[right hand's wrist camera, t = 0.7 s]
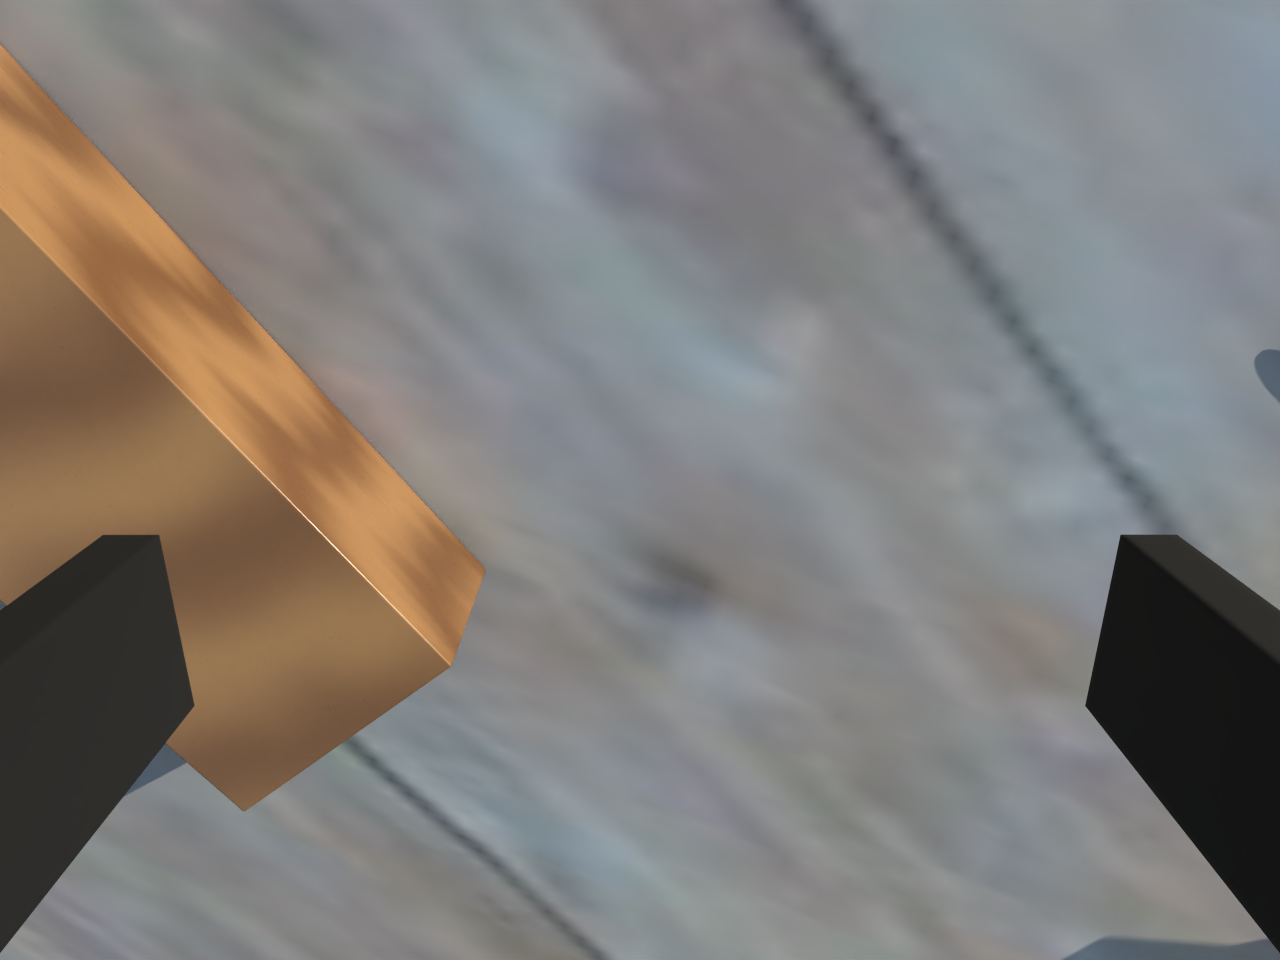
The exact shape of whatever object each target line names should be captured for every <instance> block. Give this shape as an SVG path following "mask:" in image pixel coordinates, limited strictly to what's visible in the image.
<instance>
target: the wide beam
mask: <svg viewBox="0 0 1280 960" xmlns="http://www.w3.org/2000/svg"><path fill="white" fill-rule="evenodd" d="M102 535H159V536H160V541H161V546H162V550H163V555H164V560H165V565H166V570H167V575H168V579H169V584H170V589H171V594H172V599H173V604H174V609H175V613H176V618H177V623H178V628H179V633H180V638H181V642H182V647H183V652H184V657H185V662H186V667H187V671H188V676H189V681H190V686H191V691H192V696H193V700H194V705H195V706H194V707H193V708H192V710H191V711H190V712H189V714H188V715H187V716H186V717H185V719H184V720H183V721H182V722H181V724H180V725H179V726H178V728H177V729H176V730H175V731H174V733H173V734H172V735H171V736H170V738H169V739H168V740H167V742H166V743H165V744H166V745H168V746H169V747H170V748H171V749H172V750H173V751H175V752H176V753H177V754H178V755H179V756H180V757H181V758H183V759H184V760H185V761H186V762H187V763H188V764H190V765H191V766H192V767H193V768H194V769H195V770H196V771H198V772H199V773H200V774H201V775H202V776H203V777H205V778H206V779H207V780H208V781H209V782H210V783H211V784H213V785H214V786H215V787H216V788H217V789H218V790H219V791H221V792H222V793H223V794H224V795H225V796H226V797H228V798H229V799H230V800H231V801H232V802H233V803H234V804H236V805H237V806H238V807H239V808H240V809H241V810H243V811H246V810H247V809H249V808H250V807H252V806H253V805H255V804H256V803H257V802H259V801H260V800H262V799H263V798H264V797H266V796H267V795H269V794H270V793H272V792H273V791H274V790H276V789H277V788H279V787H280V786H282V785H283V784H284V783H286V782H287V781H289V780H290V779H292V778H293V777H294V776H296V775H297V774H299V773H300V772H301V771H303V770H304V769H306V768H307V767H309V766H310V765H311V764H313V763H314V762H316V761H317V760H319V759H320V758H321V757H323V756H324V755H326V754H327V753H329V752H330V751H331V750H333V749H334V748H336V747H337V746H338V745H340V744H341V743H343V742H344V741H346V740H347V739H348V738H350V737H351V736H353V735H354V734H356V733H357V732H358V731H360V730H361V729H363V728H364V727H366V726H367V725H368V724H370V723H371V722H373V721H374V720H375V719H377V718H378V717H380V716H381V715H383V714H384V713H385V712H387V711H388V710H390V709H391V708H393V707H394V706H395V705H397V704H398V703H400V702H401V701H402V700H404V699H405V698H407V697H408V696H410V695H411V694H412V693H414V692H415V691H417V690H418V689H420V688H421V687H422V686H424V685H425V684H427V683H428V682H430V681H431V680H432V679H434V678H435V677H437V676H438V675H439V674H441V673H442V672H444V671H445V670H447V669H448V668H449V667H451V665H452V663H453V660H454V657H455V654H456V652H457V649H458V646H459V643H460V640H461V638H462V635H463V632H464V629H465V626H466V624H467V621H468V618H469V615H470V612H471V610H472V607H473V604H474V601H475V598H476V596H477V593H478V590H479V587H480V585H481V582H482V579H483V576H484V573H485V571H486V570H485V568H484V567H483V566H482V565H481V564H480V563H479V562H478V561H477V560H476V559H475V557H474V556H473V555H472V554H471V553H470V552H469V551H468V550H467V549H466V548H465V547H464V546H463V544H462V543H461V542H460V541H459V540H458V539H457V538H456V537H455V536H454V535H453V534H452V533H451V532H450V530H449V529H448V528H447V527H446V526H445V525H444V524H443V523H442V522H441V521H440V520H439V519H438V517H437V516H436V515H435V514H434V513H433V512H432V511H431V510H430V509H429V508H428V507H427V506H426V504H425V503H424V502H423V501H422V500H421V499H420V498H419V497H418V496H417V495H416V494H415V493H414V491H413V490H412V489H411V488H410V487H409V486H408V485H407V484H406V483H405V482H404V481H403V480H402V478H401V477H400V476H399V475H398V474H397V473H396V472H395V471H394V470H393V469H392V468H391V467H390V466H389V464H388V463H387V462H386V461H385V460H384V459H383V458H382V457H381V456H380V455H379V454H378V453H377V451H376V450H375V449H374V448H373V447H372V446H371V445H370V444H369V443H368V442H367V441H366V440H365V438H364V437H363V436H362V435H361V434H360V433H359V432H358V431H357V430H356V429H355V428H354V427H353V425H352V424H351V423H350V422H349V421H348V420H347V419H346V418H345V417H344V416H343V415H342V414H341V412H340V411H339V410H338V409H337V408H336V407H335V406H334V405H333V404H332V403H331V402H330V401H329V399H328V398H327V397H326V396H325V395H324V394H323V393H322V392H321V391H320V390H319V389H318V388H317V387H316V385H315V384H314V383H313V382H312V381H311V380H310V379H309V378H308V377H307V376H306V375H305V374H304V372H303V371H302V370H301V369H300V368H299V367H298V366H297V365H296V364H295V363H294V362H293V361H292V359H291V358H290V357H289V356H288V355H287V354H286V353H285V352H284V351H283V350H282V349H281V348H280V346H279V345H278V344H277V343H276V342H275V341H274V340H273V339H272V338H271V337H270V336H269V335H268V333H267V332H266V331H265V330H264V329H263V328H262V327H261V326H260V325H259V324H258V323H257V322H256V320H255V319H254V318H253V317H252V316H251V315H250V314H249V313H248V312H247V311H246V310H245V309H244V308H243V306H242V305H241V304H240V303H239V302H238V301H237V300H236V299H235V298H234V297H233V296H232V295H231V293H230V292H229V291H228V290H227V289H226V288H225V287H224V286H223V285H222V284H221V283H220V282H219V280H218V279H217V278H216V277H215V276H214V275H213V274H212V273H211V272H210V271H209V270H208V269H207V267H206V266H205V265H204V264H203V263H202V262H201V261H200V260H199V259H198V258H197V257H196V256H195V254H194V253H193V252H192V251H191V250H190V249H189V248H188V247H187V246H186V245H185V244H184V243H183V241H182V240H181V239H180V238H179V237H178V236H177V235H176V234H175V233H174V232H173V231H172V230H171V229H170V227H169V226H168V225H167V224H166V223H165V222H164V221H163V220H162V219H161V218H160V217H159V216H158V214H157V213H156V212H155V211H154V210H153V209H152V208H151V207H150V206H149V205H148V204H147V203H146V201H145V200H144V199H143V198H142V197H141V196H140V195H139V194H138V193H137V192H136V191H135V190H134V188H133V187H132V186H131V185H130V184H129V183H128V182H127V181H126V180H125V179H124V178H123V177H122V175H121V174H120V173H119V172H118V171H117V170H116V169H115V168H114V167H113V166H112V165H111V164H110V162H109V161H108V160H107V159H106V158H105V157H104V156H103V155H102V154H101V153H100V152H99V151H98V150H97V148H96V147H95V146H94V145H93V144H92V143H91V142H90V141H89V140H88V139H87V138H86V137H85V135H84V134H83V133H82V132H81V131H80V130H79V129H78V128H77V127H76V126H75V125H74V124H73V122H72V121H71V120H70V119H69V118H68V117H67V116H66V115H65V114H64V113H63V112H62V111H61V109H60V108H59V107H58V106H57V105H56V104H55V103H54V102H53V101H52V100H51V99H50V98H49V96H48V95H47V94H46V93H45V92H44V91H43V90H42V89H41V88H40V87H39V86H38V85H37V83H36V82H35V81H34V80H33V79H32V78H31V77H30V76H29V75H28V74H27V73H26V72H25V71H24V69H23V68H22V67H21V66H20V65H19V64H18V63H17V62H16V61H15V60H14V59H13V58H12V56H11V55H10V54H9V53H8V52H7V51H6V50H5V49H4V48H3V47H2V46H1V45H0V601H2V602H3V603H4V604H5V605H6V606H7V605H8V604H10V603H11V602H13V601H14V600H15V599H17V598H18V597H19V596H21V595H22V594H23V593H25V592H26V591H27V590H29V589H30V588H32V587H33V586H34V585H36V584H37V583H38V582H40V581H41V580H42V579H44V578H45V577H47V576H48V575H49V574H51V573H52V572H53V571H55V570H56V569H57V568H59V567H60V566H61V565H63V564H64V563H66V562H67V561H68V560H70V559H71V558H72V557H74V556H75V555H76V554H78V553H79V552H80V551H82V550H83V549H85V548H86V547H87V546H89V545H90V544H91V543H93V542H94V541H95V540H97V539H98V538H100V537H101V536H102Z"/></svg>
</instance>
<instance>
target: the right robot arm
mask: <svg viewBox="0 0 1280 960" xmlns="http://www.w3.org/2000/svg"><path fill="white" fill-rule="evenodd" d="M194 706H195V705H194V700H193V696H192V691H191V686H190V681H189V676H188V671H187V667H186V662H185V657H184V652H183V647H182V642H181V638H180V633H179V628H178V623H177V618H176V613H175V609H174V604H173V599H172V594H171V589H170V584H169V579H168V575H167V570H166V565H165V560H164V555H163V550H162V546H161V541H160V536H159V535H102V536H101V537H100V538H98V539H97V540H95V541H94V542H93V543H91V544H90V545H89V546H87V547H86V548H85V549H83V550H82V551H80V552H79V553H78V554H76V555H75V556H74V557H72V558H71V559H70V560H68V561H67V562H66V563H64V564H63V565H61V566H60V567H59V568H57V569H56V570H55V571H53V572H52V573H51V574H49V575H48V576H47V577H45V578H44V579H42V580H41V581H40V582H38V583H37V584H36V585H34V586H33V587H32V588H30V589H29V590H27V591H26V592H25V593H23V594H22V595H21V596H19V597H18V598H17V599H15V600H14V601H13V602H11V603H10V604H8V605H7V606H6V607H4V608H3V609H2V610H0V952H1V951H2V950H3V949H4V947H5V946H6V945H7V944H8V942H9V941H10V940H11V939H12V937H13V936H14V935H15V933H16V932H17V931H18V930H19V928H20V927H21V926H22V925H23V923H24V922H25V921H26V919H27V918H28V917H29V916H30V914H31V913H32V912H33V911H34V909H35V908H36V907H37V905H38V904H39V903H40V902H41V900H42V899H43V898H44V897H45V895H46V894H47V893H48V891H49V890H50V889H51V888H52V886H53V885H54V884H55V883H56V881H57V880H58V879H59V878H60V876H61V875H62V874H63V872H64V871H65V870H66V869H67V867H68V866H69V865H70V864H71V862H72V861H73V860H74V858H75V857H76V856H77V855H78V853H79V852H80V851H81V850H82V848H83V847H84V846H85V844H86V843H87V842H88V841H89V839H90V838H91V837H92V836H93V834H94V833H95V832H96V830H97V829H98V828H99V827H100V825H101V824H102V823H103V822H104V820H105V819H106V818H107V817H108V815H109V814H110V813H111V811H112V810H113V809H114V808H115V806H116V805H117V804H118V803H119V801H120V800H121V799H122V797H123V796H124V795H125V794H126V792H127V791H128V790H129V789H130V787H131V786H132V785H133V783H134V782H135V781H136V780H137V778H138V777H139V776H140V775H141V773H142V772H143V771H144V769H145V768H146V767H147V766H148V764H149V763H150V762H151V761H152V759H153V758H154V757H155V756H156V754H157V753H158V752H159V750H160V749H161V748H162V747H163V745H164V744H165V743H166V742H167V740H168V739H169V738H170V736H171V735H172V734H173V733H174V731H175V730H176V729H177V728H178V726H179V725H180V724H181V722H182V721H183V720H184V719H185V717H186V716H187V715H188V714H189V712H190V711H191V710H192V708H193V707H194ZM1085 706H1086V707H1087V708H1088V710H1089V711H1090V712H1091V714H1092V715H1093V716H1094V717H1095V719H1096V720H1097V721H1098V722H1099V724H1100V725H1101V726H1102V728H1103V729H1104V730H1105V731H1106V733H1107V734H1108V735H1109V736H1110V738H1111V739H1112V740H1113V742H1114V743H1115V744H1116V745H1117V747H1118V748H1119V749H1120V750H1121V752H1122V753H1123V754H1124V756H1125V757H1126V758H1127V759H1128V761H1129V762H1130V763H1131V764H1132V766H1133V767H1134V768H1135V769H1136V771H1137V772H1138V773H1139V775H1140V776H1141V777H1142V778H1143V780H1144V781H1145V782H1146V783H1147V785H1148V786H1149V787H1150V789H1151V790H1152V791H1153V792H1154V794H1155V795H1156V796H1157V797H1158V799H1159V800H1160V801H1161V803H1162V804H1163V805H1164V806H1165V808H1166V809H1167V810H1168V811H1169V813H1170V814H1171V815H1172V817H1173V818H1174V819H1175V820H1176V822H1177V823H1178V824H1179V825H1180V827H1181V828H1182V829H1183V830H1184V832H1185V833H1186V834H1187V836H1188V837H1189V838H1190V839H1191V841H1192V842H1193V843H1194V844H1195V846H1196V847H1197V848H1198V850H1199V851H1200V852H1201V853H1202V855H1203V856H1204V857H1205V858H1206V860H1207V861H1208V862H1209V864H1210V865H1211V866H1212V867H1213V869H1214V870H1215V871H1216V872H1217V874H1218V875H1219V876H1220V878H1221V879H1222V880H1223V881H1224V883H1225V884H1226V885H1227V886H1228V888H1229V889H1230V890H1231V891H1232V893H1233V894H1234V895H1235V897H1236V898H1237V899H1238V900H1239V902H1240V903H1241V904H1242V905H1243V907H1244V908H1245V909H1246V911H1247V912H1248V913H1249V914H1250V916H1251V917H1252V918H1253V919H1254V921H1255V922H1256V923H1257V925H1258V926H1259V927H1260V928H1261V930H1262V931H1263V932H1264V933H1265V935H1266V936H1267V937H1268V939H1269V940H1270V941H1271V942H1272V944H1273V945H1274V946H1275V947H1276V949H1277V950H1278V951H1279V952H1280V610H1278V609H1277V608H1276V607H1274V606H1273V605H1272V604H1270V603H1269V602H1267V601H1266V600H1265V599H1263V598H1262V597H1261V596H1259V595H1258V594H1257V593H1255V592H1254V591H1253V590H1251V589H1250V588H1248V587H1247V586H1246V585H1244V584H1243V583H1242V582H1240V581H1239V580H1238V579H1236V578H1235V577H1233V576H1232V575H1231V574H1229V573H1228V572H1227V571H1225V570H1224V569H1223V568H1221V567H1220V566H1219V565H1217V564H1216V563H1214V562H1213V561H1212V560H1210V559H1209V558H1208V557H1206V556H1205V555H1204V554H1202V553H1201V552H1200V551H1198V550H1197V549H1195V548H1194V547H1193V546H1191V545H1190V544H1189V543H1187V542H1186V541H1185V540H1183V539H1182V538H1180V537H1179V536H1178V535H1121V536H1120V541H1119V546H1118V550H1117V555H1116V560H1115V565H1114V570H1113V575H1112V579H1111V584H1110V589H1109V594H1108V599H1107V604H1106V609H1105V613H1104V618H1103V623H1102V628H1101V633H1100V638H1099V642H1098V647H1097V652H1096V657H1095V662H1094V667H1093V671H1092V676H1091V681H1090V686H1089V691H1088V696H1087V700H1086V705H1085Z"/></svg>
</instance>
